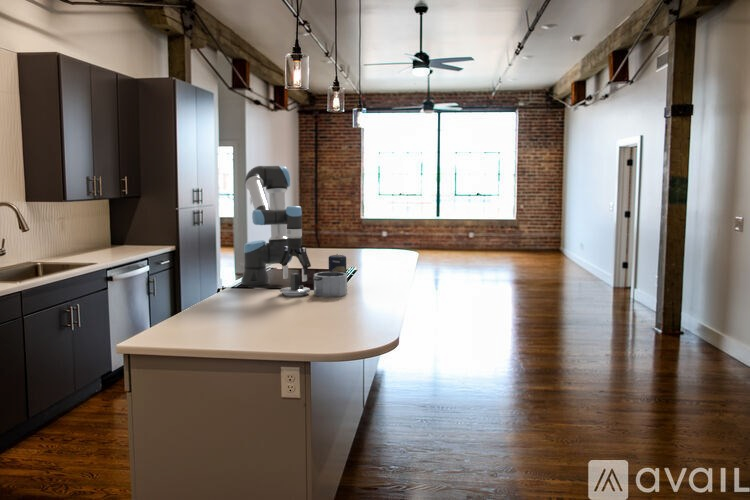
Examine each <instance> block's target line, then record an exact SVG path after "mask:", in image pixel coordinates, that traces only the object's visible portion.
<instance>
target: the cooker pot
mask: <svg viewBox="0 0 750 500" xmlns="http://www.w3.org/2000/svg"><path fill="white" fill-rule="evenodd" d="M312 281H313V295H315V296H316V297H321V298H338V297H344V296H346V295H348V272H347V273H342V272H329V271H321V272H316V273H314V274H313V278H312Z"/></svg>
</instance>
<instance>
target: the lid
mask: <svg viewBox="0 0 750 500" xmlns="http://www.w3.org/2000/svg"><path fill="white" fill-rule="evenodd" d="M279 292H280V293H283V294H282V295H283V296H284V297H290V298H292V297H293V298H294V297H295V298H296V297H304V296H307V295H308V293H310V292H311V288H310V287H306V286H305V287H304V285H303V284H301V285H300V273H296V272H295V273H290V287H289V286H288V287H283V288H280V289H279Z"/></svg>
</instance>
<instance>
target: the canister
mask: <svg viewBox="0 0 750 500" xmlns="http://www.w3.org/2000/svg"><path fill="white" fill-rule="evenodd" d="M347 271H348V270H347V256H346V255H343V254H338V253H336V254H332V255H329V256H328V272H342V273H347V274H348V272H347Z"/></svg>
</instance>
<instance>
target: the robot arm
mask: <svg viewBox="0 0 750 500" xmlns="http://www.w3.org/2000/svg"><path fill="white" fill-rule="evenodd" d="M244 184H245V187H246V189H247V190H248V191H249V195H250V199H251V202H252V205H253V206H252V207H253V208H254V210H252V213H251V214H252V215H251V216H252V217H251V219H252V224H253V225H256V226H268V225H269V226H270V237H269V239H268V242H266V240H262V239H261V240H254V241H248V242H246V243H244V245H243V259H244V260H243V261H244V262H243V266H244V270H243V274H242V278H241V283H240V284H241V285H242V286H249V287H250V286H252V287H255V286H259V287H260V286H266V285H268V284H270V277H269V275H268V271H267V265H273V264H274V265H275V264H276V265H278V264H279V265H281V266H282V269H281V271H282V276H283V277H282V280H283V279H284V280H287V279H289V264H288V263H290V262H292V259H293V257H296V258H297V259H298V262H299V263H300V264H301V282H308V274H309V273H308V271H309V269H308V268H311V266H312V264H311V262H310V259H309V256H308V253H307V247H302V245H303V238H302V237H303V226H302V225H303V221H302V220H303V219H302V218H303V211H302V207H301V206H300V205H298V206H297V205H289V206H286V192H287V191H288V188H289V187H291V176H290V171H289V169H288V168H287V167H286V166H285V165H284V166H283V165H282V166H281V165H257V166H254V167H253V168H251V169H250V170H249V171H248V172H247V174H246V176H245V178H244ZM265 191H266V192H267V193H268V194H269V198H268V199H269V201H268V199H267V196H266V192H265Z"/></svg>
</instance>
